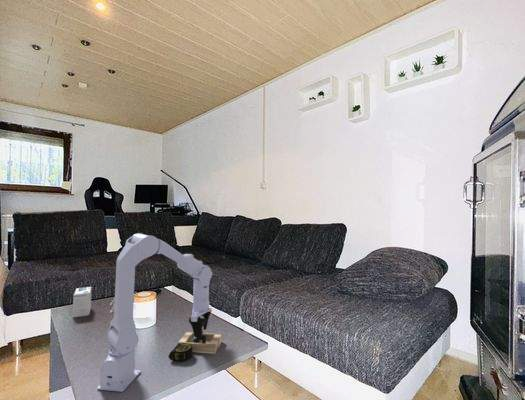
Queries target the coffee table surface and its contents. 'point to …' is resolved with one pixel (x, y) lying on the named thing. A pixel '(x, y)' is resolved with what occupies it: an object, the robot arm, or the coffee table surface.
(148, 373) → the coffee table surface
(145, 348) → the coffee table surface
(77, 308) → the light bulb box
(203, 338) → the push button
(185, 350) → the tape measure
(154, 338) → the coffee table surface
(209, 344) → the pocket block
